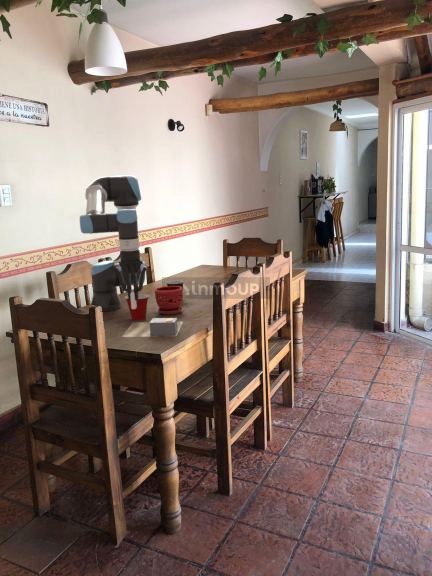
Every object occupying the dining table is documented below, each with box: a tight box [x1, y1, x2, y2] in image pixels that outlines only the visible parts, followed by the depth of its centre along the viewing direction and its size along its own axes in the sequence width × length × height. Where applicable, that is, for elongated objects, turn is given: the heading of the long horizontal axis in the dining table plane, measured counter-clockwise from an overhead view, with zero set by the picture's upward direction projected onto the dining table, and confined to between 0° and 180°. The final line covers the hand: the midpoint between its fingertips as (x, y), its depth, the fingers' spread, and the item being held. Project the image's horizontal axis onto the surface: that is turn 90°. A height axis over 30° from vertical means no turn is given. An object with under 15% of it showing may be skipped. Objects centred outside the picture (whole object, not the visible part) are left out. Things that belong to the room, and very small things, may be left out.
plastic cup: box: [124, 293, 150, 321], centre depth 215 cm, size 11×11×12 cm
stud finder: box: [149, 317, 178, 337], centre depth 191 cm, size 10×6×6 cm, turn 86°
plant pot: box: [154, 285, 184, 315], centre depth 228 cm, size 13×13×12 cm
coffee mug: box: [166, 279, 184, 297], centre depth 251 cm, size 12×9×10 cm
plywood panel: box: [121, 321, 184, 338], centre depth 199 cm, size 22×20×2 cm
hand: (134, 308), depth 191 cm, fingers closed
